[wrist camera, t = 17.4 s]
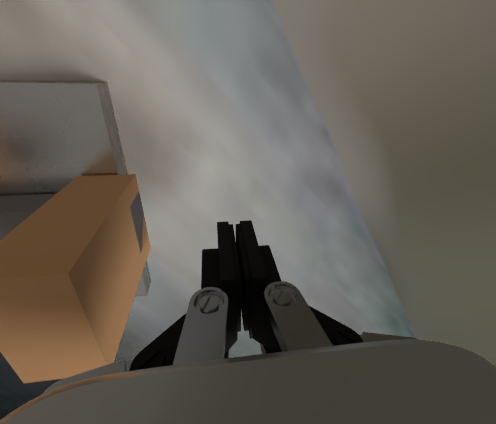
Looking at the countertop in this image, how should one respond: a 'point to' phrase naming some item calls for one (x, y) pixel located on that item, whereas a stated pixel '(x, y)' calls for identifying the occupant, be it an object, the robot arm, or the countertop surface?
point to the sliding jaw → (69, 275)
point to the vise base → (57, 139)
